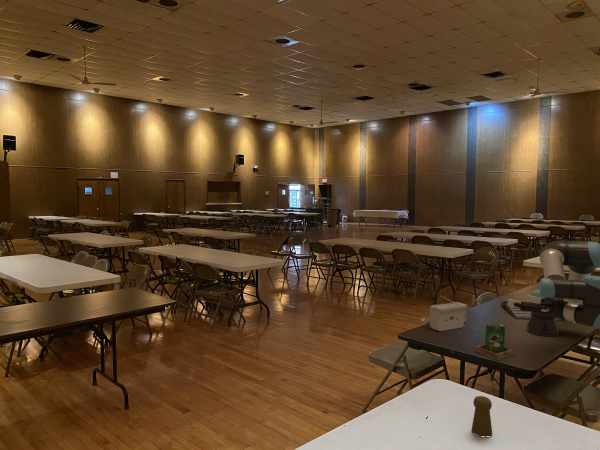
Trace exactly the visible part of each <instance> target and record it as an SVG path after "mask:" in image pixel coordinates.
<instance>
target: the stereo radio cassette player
mask: <svg viewBox="0 0 600 450" xmlns="http://www.w3.org/2000/svg"><path fill="white" fill-rule="evenodd" d="M440 297H442V295H440ZM443 298H444V299H445V300H447V301H449V303H440V304H434V305H430V307H429V327H430V328H431V329H432V330H435V331H439V333H440V332H442V331H443V332H444V331H449V330H457V329H461V328H462V329H463V328H466V325H467V308H468V305H467V304H466V303H464V302H463V303H461V302H459V301H456V302H455V301H452V300H451V299H449V298H447V297H444V296H443Z"/></svg>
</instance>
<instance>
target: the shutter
mask: <svg viewBox="0 0 600 450" xmlns="http://www.w3.org/2000/svg"><path fill="white" fill-rule="evenodd" d="M523 303H528V304H531V302H528V301H523ZM500 307H501V309H502V308H503V309H504V308H505V309H507V311H508V313H509V314H510V315H511V317H512V318H513V317H514V318H513V319H514V320H525V321H526V320H530V318H531V312H530V311H521V310H520V308H516V307H512V306H508V300H507V301H506V300H505V301H504V300H503V301H501V302H500ZM556 322H568V321H567V320H562V319H558V318H556Z"/></svg>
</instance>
